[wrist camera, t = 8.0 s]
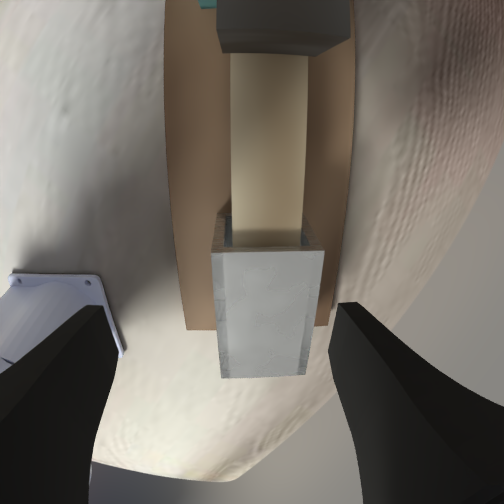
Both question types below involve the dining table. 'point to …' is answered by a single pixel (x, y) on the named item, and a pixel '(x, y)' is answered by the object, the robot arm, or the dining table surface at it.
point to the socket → (207, 4)
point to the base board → (219, 151)
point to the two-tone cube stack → (272, 108)
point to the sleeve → (264, 303)
